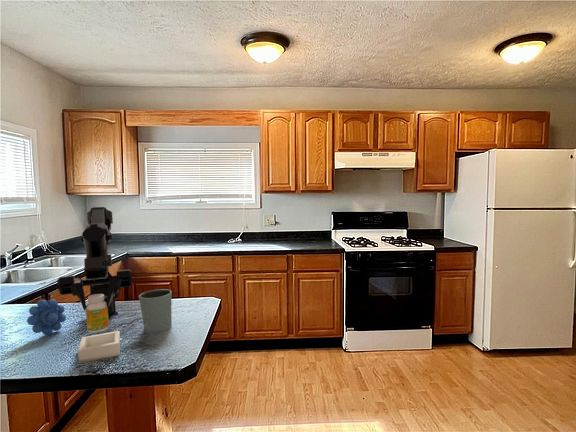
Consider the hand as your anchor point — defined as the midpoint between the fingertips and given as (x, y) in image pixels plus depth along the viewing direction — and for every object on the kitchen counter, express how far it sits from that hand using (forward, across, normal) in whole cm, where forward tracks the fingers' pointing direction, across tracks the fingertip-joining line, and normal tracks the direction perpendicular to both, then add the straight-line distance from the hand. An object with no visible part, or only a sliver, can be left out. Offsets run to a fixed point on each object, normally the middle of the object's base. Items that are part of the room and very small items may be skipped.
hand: (96, 307), depth 95 cm
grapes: (-6, -15, +26) cm, 31 cm away
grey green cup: (+2, +16, +18) cm, 24 cm away
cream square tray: (+9, 0, +10) cm, 13 cm away
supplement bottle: (+4, 0, +6) cm, 7 cm away
